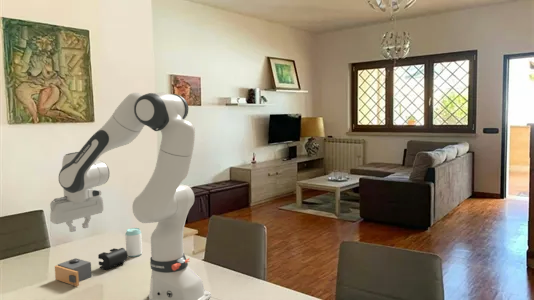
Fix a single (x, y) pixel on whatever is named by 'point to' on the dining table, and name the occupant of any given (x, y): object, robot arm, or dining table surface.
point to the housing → (78, 267)
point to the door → (66, 275)
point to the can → (133, 242)
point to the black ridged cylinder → (112, 258)
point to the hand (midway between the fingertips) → (79, 229)
